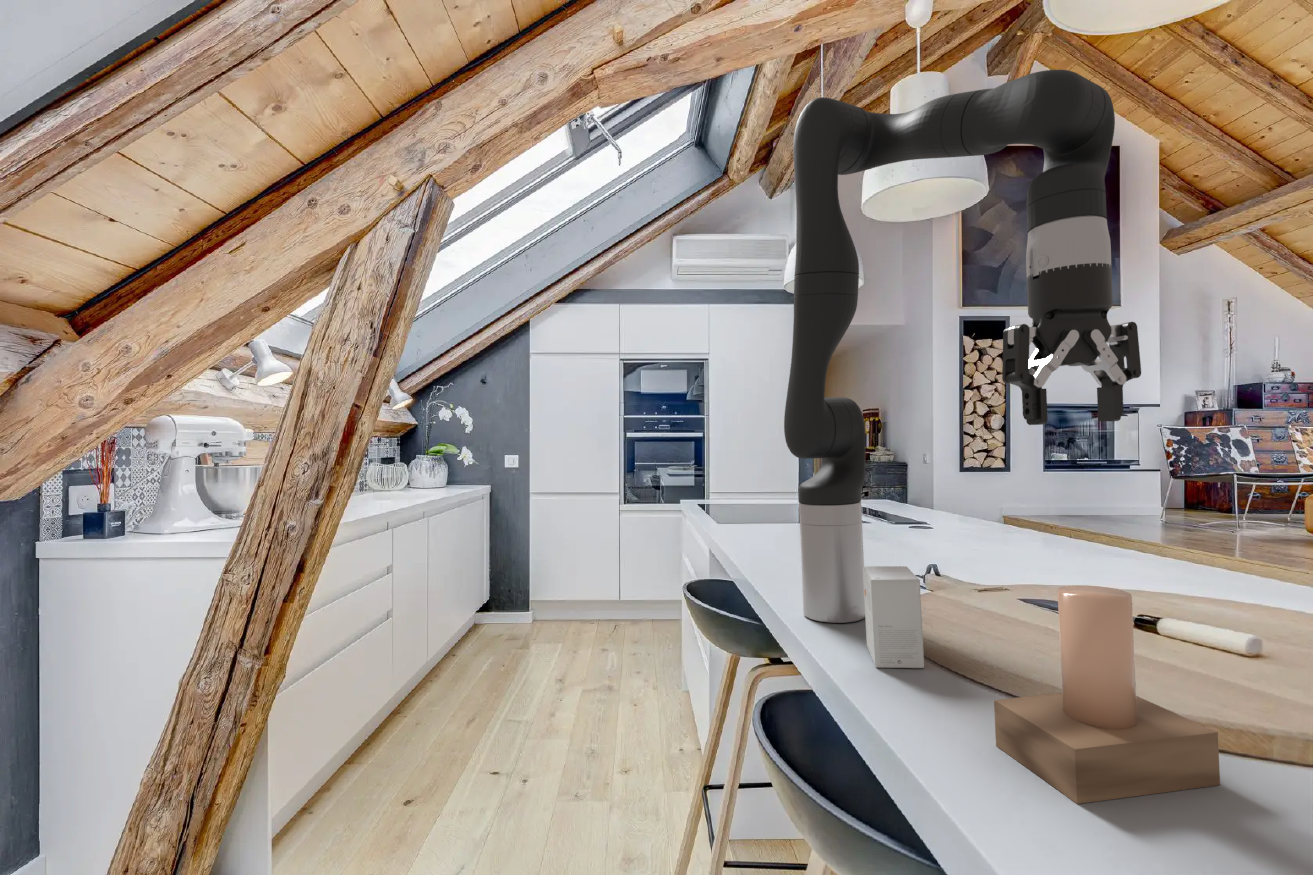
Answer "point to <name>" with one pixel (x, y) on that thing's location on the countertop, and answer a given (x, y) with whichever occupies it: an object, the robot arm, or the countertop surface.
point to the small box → (893, 617)
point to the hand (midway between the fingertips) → (1073, 423)
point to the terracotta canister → (1097, 656)
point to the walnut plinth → (1107, 750)
